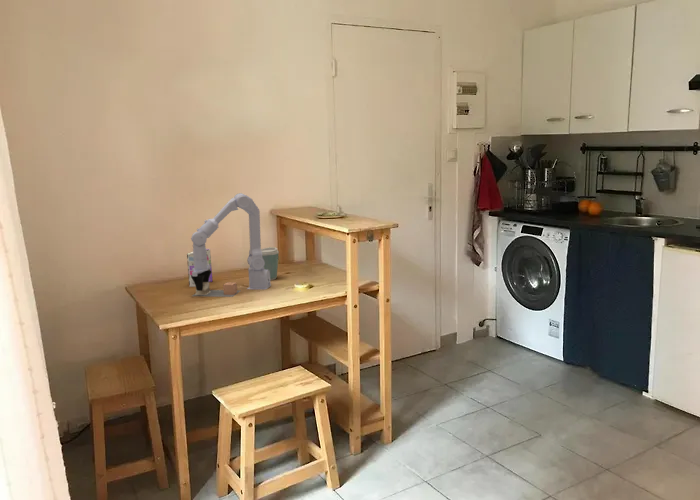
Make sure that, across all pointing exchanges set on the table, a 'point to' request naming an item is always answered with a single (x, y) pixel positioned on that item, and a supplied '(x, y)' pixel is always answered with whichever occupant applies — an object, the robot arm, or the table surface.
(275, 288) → the table surface
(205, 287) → the block cream
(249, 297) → the table surface
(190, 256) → the candy box
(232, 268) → the table surface
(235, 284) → the block terracotta
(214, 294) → the board
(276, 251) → the disposable coffee cup
